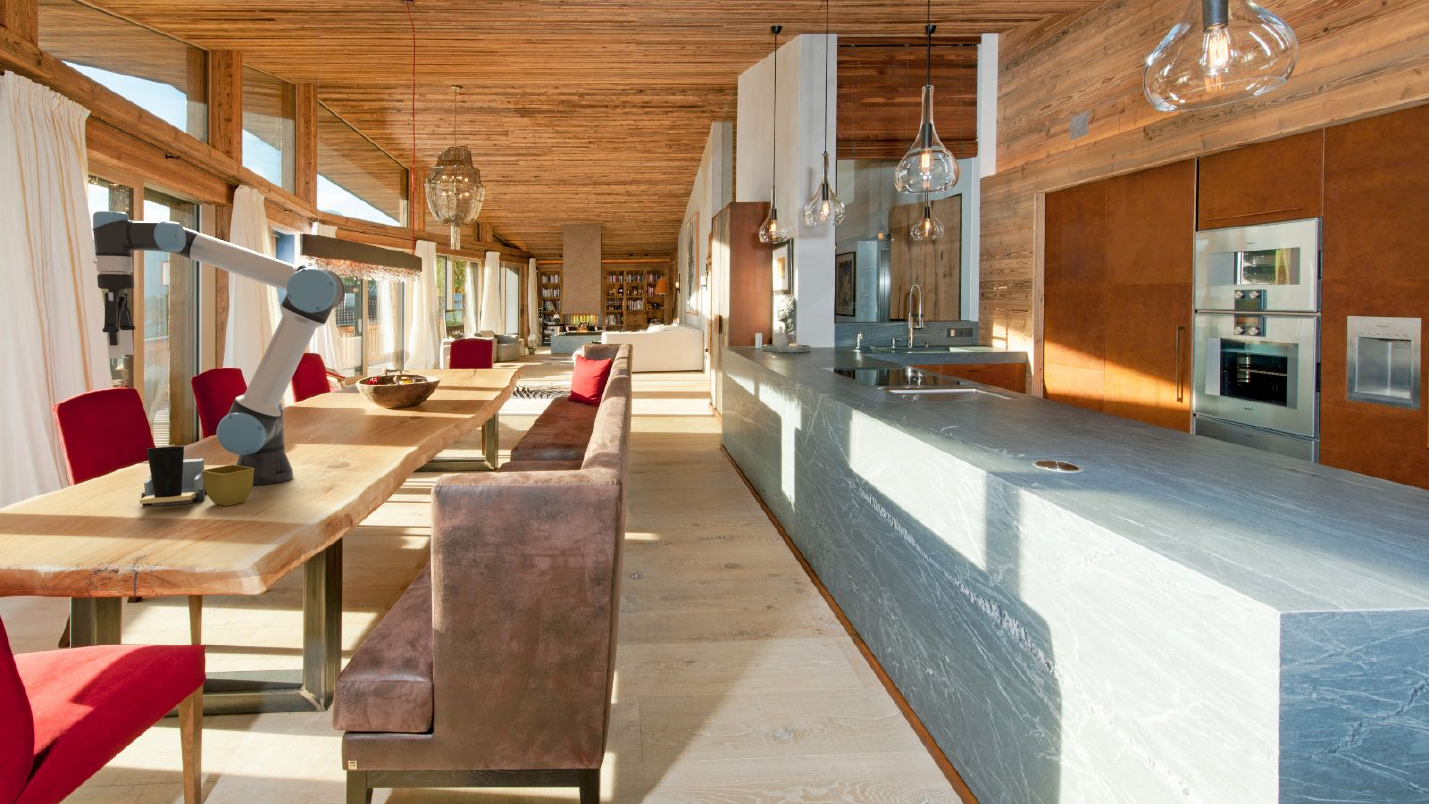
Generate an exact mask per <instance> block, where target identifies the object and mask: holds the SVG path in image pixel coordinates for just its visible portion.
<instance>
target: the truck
mask: <svg viewBox="0 0 1429 804" xmlns="http://www.w3.org/2000/svg"><path fill="white" fill-rule="evenodd" d="M202 470H205V459H204V458H191V459H190V458H189V459H188V458H186V459H183V477H182V493H190V492H196V496H195V497H194V498H192V499H191V500H182V501H170V502H157V503H152V507H163V506H175V505H187V504H193V502H194V501H195V500H196V501H198V502H200V501H205V497H206V496H205V494H207V493H206V491H205V487H204V483H203V478H202V473H201V471H202ZM143 485H144V486H143V488H144V492H141V495H140V496H141V498H140V499H142V498H144V497H145V496H151V495H154V490H153V484H152V478H151V475H150V476H149V477H148V478H147V479H146V480H145V481H144V482H143ZM149 505H151V503H144V504H141V506H149Z"/></svg>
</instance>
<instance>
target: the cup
mask: <svg viewBox="0 0 1429 804" xmlns="http://www.w3.org/2000/svg"><path fill="white" fill-rule="evenodd" d="M146 452H147V453H146V454H147V459H148V465H149V471H150V476H151V478H152V484H153V490H154V496H155V497H173V496H179V495H182V477H183V460H184V453H185V446H183V445H180V446H179V445H178V446H161V447H160V446H159V447H157V446H156V447H149V448H147V449H146Z"/></svg>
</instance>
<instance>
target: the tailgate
mask: <svg viewBox="0 0 1429 804" xmlns="http://www.w3.org/2000/svg"><path fill="white" fill-rule="evenodd" d="M195 496H196V492H190V493H182V495H179V496H173V497H155V496H154V495H151V496H145V497H144V498H142V499H141V498H140V499H139V505H140V504H141V505H142V504H144V503H150V504H153V503H157V502H170V501H182V500H191V499H192V498H194V497H195ZM196 497H197V496H196Z"/></svg>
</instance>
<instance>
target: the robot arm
mask: <svg viewBox="0 0 1429 804" xmlns="http://www.w3.org/2000/svg"><path fill="white" fill-rule="evenodd" d="M92 233H93V239H94V240H93V241H94V251H95V259H93V264H96V271H97V272H98V274H97V275H96V276H97V277H96V279H97V287H98V288H99V289H100V290H104V289H105V290H108V292H104V322H103V323H104V325H103V328H102V329H101V330H102V333H106V339H107V353H108V359H110V360H111V359H112V360H113V359H114V360H115V359H117V360H118V359H123V356H133V355H135V354H134V352H135V351H134V339H133V331H135V330H136V325H134V321H133V318H132V311H131V307H130V306H131V305H130V301H129V293H128V292H125V290H134V288H135V283H134V276H133V274H131V273H133V272H134V266H133V257H132V256H133V255H132V251H143V252H144V251H148V252H149V251H150V252H163V253H171V254H175V255H177V256H181V257H183V258H187V259H191V260H193V261H196V262H200V263H202V264H206V265H207V266H208V265H209V266H212V267H214V268H217V269H220V270H222V271H223V270H224V271H225V272H229V273H232V274H235V275H238V276H241V277H244V278H247V279H250V280H253V281H256V282H259V283H262V284H265V285H268V286H270V287H273V288H276V289H280V290H282V291H285V292H286V294H285V296H284V298H283V300H282V302H281V305H280V307H281V310H282V313H283V315H282V317H281V319H280V321H279V322H278V325H277V327H276V329H275V331H274V334H273V335H272V337H271V339H270V341H269V343H268V346H267V348H266V349H265V352H264V354H263V356H262V358H261V360H260V362H259V364H258V366H257V368H256V370H255V372H254V374H253V376H252V378H251V380H250V382H249V384H248V387H247V389H246V390H245V392H244V393H243V394H241V395H238V396H236V397H235V398H234V400H233V403H232V405H231V406H230V409H229V411H228V413H227V414H226V415H224V417H222V418H221V419H220V421H219V423H218V425H217V428H216V433H215V434H216V438H217V441H218V442H219V445H220V446H221V447H222V448H223V449H224V450H225V451H227V452H229V453H231V454H234V455H237V456H238V458H237V460H236V463H235V465H238V466H245V467H251V468H254V478H253V486H262V485H272V484H273V485H274V484H277V483H282V482H287V481H290V480H292V479H293V478H294V472H293V471H294V470H293V467H292V466H291V462H290V461H289V458H288V456H287V454H286V451H285V449H286V448H285V447H286V446H285V431H284V428H285V427H284V409H283V405H282V399H283V397H284V395H285V393H286V390H287V389H288V386H289V384H290V383H291V380H292V379H293V376H294V374H295V372H296V371H297V369H298V366H299V364H300V362H301V361H302V358H303V356H304V354H305V351H306V350H307V348H308V346H309V344H310V342H311V340H312V338H313V336H314V334H315V331H316V330H317V328H319V327H321V326H325V325H326V323H327V320H328V319H329V317H330V315H331V314H332V311H333V309H335V308H337V307H338V306H339V305H341V303H342V302H343V300H344V297H345V294H346V288H345V284H344V282H343V280H342V279H341V277H340V275H338V274H337V273H335V272H334V271H331V270H329V269H325V268H320V267H315V266H308V265H305V264H303V263H300V264H298V265H295V264H292V263H289V262H286V261H283V260H280V259H277V258H274V257H272V256H269V255H265V254H262V253H260V252H257V251H253V250H251V249H248V248H245V247H241V246H239V245H236V244H233V243H231V242H227V241H224V240H220V239H218V238H215V237H213V236H209V235H207V234H203V233H199V232H198V231H195V230H193V229H189V228H188V227H185V226H183V225H182V224H181V223H179V222H178V221H177V222H176V221H167V220H159V221H158V220H157V221H155V220H132V219H130V217H129V214H128V213H126V212H123V211H122V212H121V211H110V210H109V211H108V210H99V211H96V212H94V213H93V214H92Z"/></svg>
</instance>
